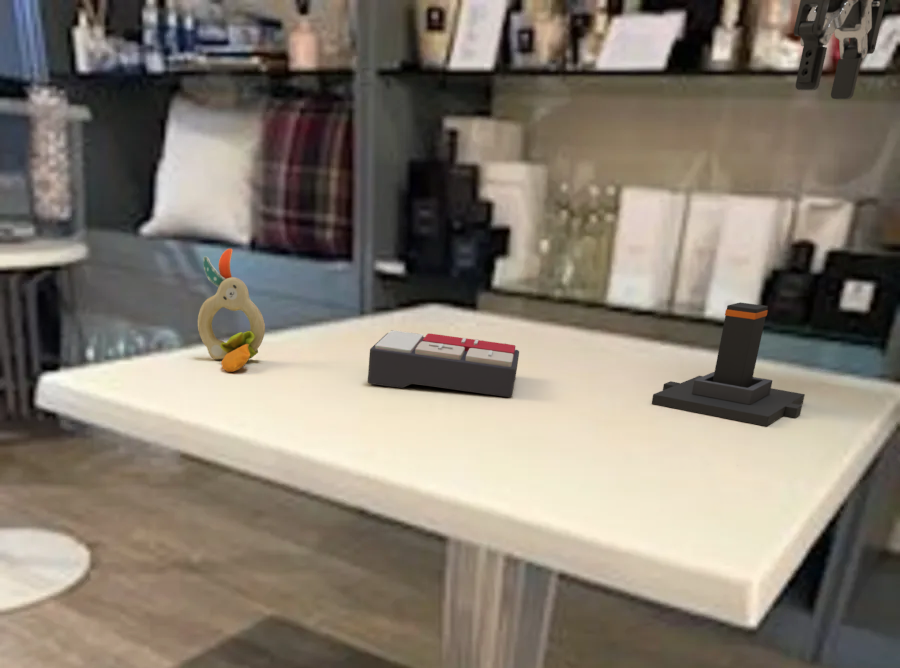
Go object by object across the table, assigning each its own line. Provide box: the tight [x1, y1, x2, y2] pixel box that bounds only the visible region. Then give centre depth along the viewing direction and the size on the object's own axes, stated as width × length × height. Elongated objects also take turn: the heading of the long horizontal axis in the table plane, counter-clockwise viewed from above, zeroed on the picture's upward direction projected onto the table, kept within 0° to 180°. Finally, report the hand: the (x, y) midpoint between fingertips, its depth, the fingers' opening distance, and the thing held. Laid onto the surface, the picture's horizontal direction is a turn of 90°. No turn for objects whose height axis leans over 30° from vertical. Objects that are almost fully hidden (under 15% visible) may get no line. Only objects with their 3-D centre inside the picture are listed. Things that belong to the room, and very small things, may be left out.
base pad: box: [651, 371, 806, 427], centre depth 93 cm, size 14×14×2 cm
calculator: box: [367, 329, 520, 398], centre depth 94 cm, size 11×4×15 cm
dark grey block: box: [713, 302, 769, 388], centre depth 91 cm, size 4×3×9 cm
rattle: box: [197, 248, 266, 373], centre depth 93 cm, size 8×8×12 cm
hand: (824, 94), depth 92 cm, fingers open, 8 cm apart
